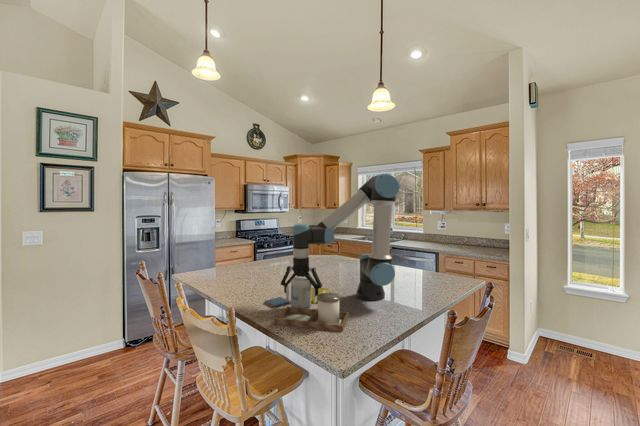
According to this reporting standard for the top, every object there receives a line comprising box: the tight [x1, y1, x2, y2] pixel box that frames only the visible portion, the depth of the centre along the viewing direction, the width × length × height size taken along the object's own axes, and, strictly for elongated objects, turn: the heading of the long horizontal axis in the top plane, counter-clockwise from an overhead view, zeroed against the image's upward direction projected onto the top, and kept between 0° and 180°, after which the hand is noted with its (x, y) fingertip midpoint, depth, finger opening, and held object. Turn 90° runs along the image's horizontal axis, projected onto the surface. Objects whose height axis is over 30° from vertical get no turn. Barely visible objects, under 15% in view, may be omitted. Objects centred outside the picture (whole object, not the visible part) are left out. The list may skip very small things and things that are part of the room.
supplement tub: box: [290, 276, 312, 309], centre depth 143 cm, size 10×10×15 cm
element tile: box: [311, 287, 330, 305], centre depth 158 cm, size 15×15×5 cm
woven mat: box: [264, 296, 291, 309], centre depth 151 cm, size 10×11×2 cm
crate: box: [274, 306, 350, 332], centre depth 127 cm, size 28×15×3 cm, turn 75°
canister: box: [317, 292, 341, 324], centre depth 125 cm, size 9×9×11 cm
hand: (301, 301), depth 143 cm, fingers open, 13 cm apart
